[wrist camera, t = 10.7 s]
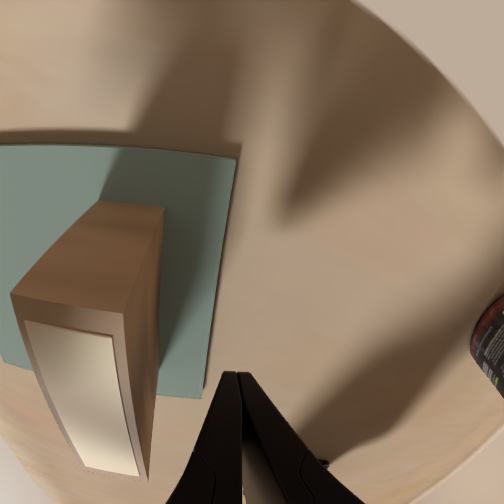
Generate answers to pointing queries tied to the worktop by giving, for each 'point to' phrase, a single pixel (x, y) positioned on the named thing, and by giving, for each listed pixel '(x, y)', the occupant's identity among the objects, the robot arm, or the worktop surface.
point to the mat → (125, 191)
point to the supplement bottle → (491, 345)
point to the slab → (99, 333)
